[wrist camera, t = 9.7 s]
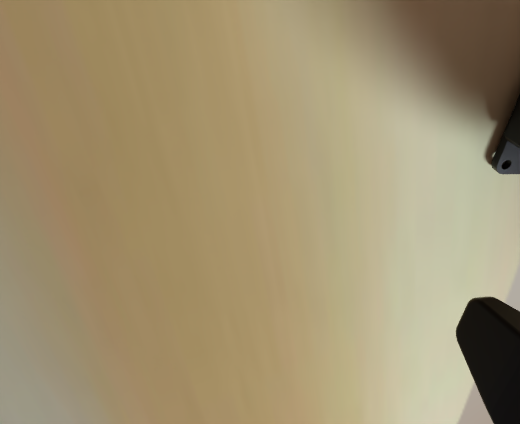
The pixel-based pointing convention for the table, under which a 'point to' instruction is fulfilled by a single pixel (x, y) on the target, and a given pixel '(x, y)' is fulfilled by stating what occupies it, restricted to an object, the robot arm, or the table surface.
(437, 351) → the table surface
